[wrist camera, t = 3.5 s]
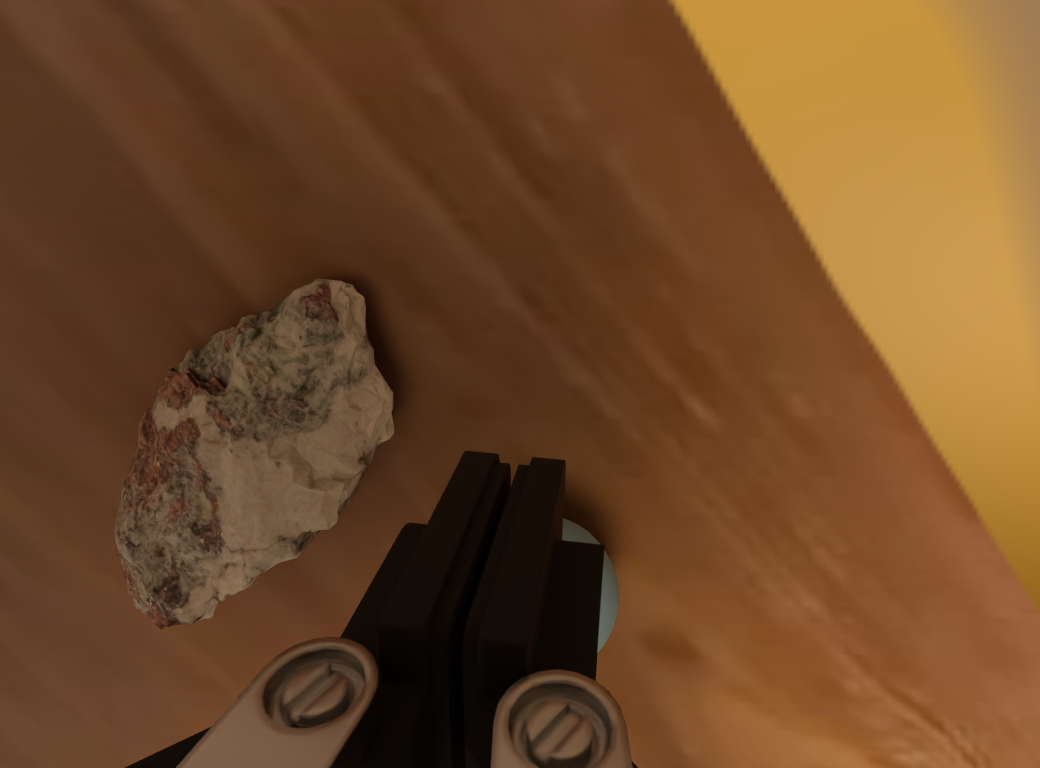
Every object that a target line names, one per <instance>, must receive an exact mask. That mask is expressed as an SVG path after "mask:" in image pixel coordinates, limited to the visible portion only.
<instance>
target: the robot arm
mask: <svg viewBox="0 0 1040 768" xmlns="http://www.w3.org/2000/svg"><path fill="white" fill-rule="evenodd" d="M565 469H566V462H565V460H557V459H547V458H536V457H532V460H531V463H530V466H529V465H519V466H518V468H517V471H516V474H515V477H514V480H513V483H512V486H511V468H510V464H509V463H500V459H499V455H498V454H494V453H484V452H473V451H465V452H464V454H463V455H462V457H461V459H460V461H459V463H458V465H457V467H456V469H455V471H454V473H453V475H452V477H451V479H450V481H449V483H448V485H447V487H446V489H445V491H444V493H443V494H442V496H441V498H440V500H439V502H438V504H437V506H436V508H435V510H434V512H433V514H432V516H431V518H430V520H429V522H428V524H427V525H426V524H418V523H407V524H405V526H404V527H403V528H402V530H401V531H400V533H399V535H398V537H397V538H396V540H395V542H394V544H393V546H392V547H391V549H390V551H389V553H388V554H387V556H386V558H385V560H384V561H383V563H382V565H381V567H380V568H379V570H378V572H377V574H376V575H375V577H374V579H373V581H372V583H371V584H370V586H369V588H368V590H367V591H366V593H365V595H364V597H363V598H362V600H361V602H360V604H359V605H358V607H357V609H356V611H355V612H354V614H353V616H352V618H351V619H350V621H349V623H348V625H347V627H346V628H345V630H344V632H343V634H342V635H341V637H340V638H337V637H326V638H316V639H312V640H309V641H306V642H302V643H299V644H296V645H294V646H292V647H291V648H289V649H287V650H285V651H284V652H282V653H280V654H278V655H277V656H276V657H275V658H274V659H273V660H271V661H270V662H269V663H268V664H267V665H266V666H265V667H264V668H263V669H262V670H261V671H260V672H259V673H258V674H257V676H256V677H255V678H254V679H253V680H252V681H251V682H250V684H249V685H248V686H247V687H246V688H245V689H244V690H243V692H242V693H241V694H240V695H239V696H238V697H237V698H236V700H235V701H234V702H233V703H232V704H231V705H230V706H229V708H228V709H227V710H226V711H225V712H224V713H223V714H222V716H221V717H220V718H219V719H218V720H217V721H216V722H215V724H214V725H213V726H212V727H210V728H208V729H206V730H203V731H201V732H199V733H197V734H195V735H193V736H191V737H189V738H187V739H184V740H182V741H180V742H178V743H176V744H174V745H172V746H170V747H168V748H165V749H163V750H161V751H159V752H157V753H155V754H153V755H151V756H149V757H146V758H144V759H142V760H140V761H138V762H136V763H134V764H132V765H130V766H127V767H125V768H638V767H637V766H636V765H635V764H634V763H633V762H632V759H631V753H630V747H629V740H628V734H627V727H626V723H625V720H624V717H623V714H622V711H621V708H620V706H619V705H618V703H617V702H616V700H615V699H614V698H613V696H612V695H611V694H610V692H609V691H608V690H606V689H605V688H604V687H603V686H601V685H600V684H599V683H597V682H596V666H597V651H598V636H599V622H600V607H601V592H602V577H603V563H604V547H605V545H601V544H593V543H584V542H575V541H566V540H562V532H563V511H564V491H565Z"/></svg>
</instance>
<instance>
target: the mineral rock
mask: <svg viewBox="0 0 1040 768" xmlns="http://www.w3.org/2000/svg"><path fill="white" fill-rule="evenodd" d="M365 315H366V306H365V300H364V297H363V296H362V295H361V294H359V293H358V292H357V291H356V290H355V288H354V287H353V285H352V284H347V283H345V282H342V281H341V280H340V281H336V280H329V279H315V281H313V282H311V283H309V284H307V285H305V286H303V287H298V288H296V289H295V290H294V291H293V292H292V293H291V294H290V295H288V296H287V297H286V298H285V299H284V300H282V302H281V303H280V304H279V305H278V306H277V307H275V308H274V309H273V310H271V311H262V312H259V314H256V315H247V316H245V317H242V318H241V319H240V321H239V323H238V325H237V327H236V328H234V327H231V328H229V329H227V330H223V331H219V332H217V333H216V334H215V335H213V336H212V338H211V340H210V341H209V342H208V343H207V344H206V345H205V346H204V347H203V348H202V349H200V350H199V349H191V348H190V350H189V351H188V352H187V353H186V355H185V357H184V360H183V361H182V362H181V363H179V364H178V365H177V366H175V367H173V368H172V369H170V370H169V371H168V372H167V374H166V375H165V376H164V377H165V381H164V384H163V386H162V387H161V388H160V389H159V390H158V391H157V394H156V398H155V401H154V403H153V404H152V406H151V407H150V408H149V410H148V411H147V412H145V414H144V416H143V417H142V419H141V421H140V423H139V441H138V446H137V449H136V454H135V458H134V460H133V462H132V464H131V466H130V467H129V469H128V475H127V477H126V480H125V483H124V488H123V490H122V492H121V493H120V494H121V500H120V506H119V510H118V514H117V518H116V523H115V537H114V539H115V541H116V543H117V547H118V556H119V557H120V561H121V564H122V567H123V570H124V573H125V578H126V581H127V591H128V593H129V595H130V598H131V600H132V602H133V604H134V605H135V607H136V608H137V609H138V610H139V611H140V612H141V614H144V615H147V617H148V618H149V619H150V621H151V622H153V623H154V624H155V625H157V626H158V627H159V628H160V629H163V628H166V627H170V626H173V625H179V624H192V623H194V622H195V621H197V620H200V619H207V618H210V617H213V614H214V612H215V609H216V607H217V604H218V603H220V602H223V601H224V600H225V599H226V597H227V595H228V594H230V595H231V596H232V595H234V594H236V593H238V592H241V591H243V590H245V589H246V588H248V587H249V586H251V585H252V584H253V583H254V581H255V579H256V577H257V576H258V575H259V574H261V573H263V572H265V571H266V570H268V569H270V568H271V567H273V566H275V565H276V564H278V563H280V562H283V561H287V560H291V559H295V558H297V557H298V556H299V555H300V554H301V553H302V552H303V551H304V549H305V548H306V547H307V546H308V545H309V544H310V542H311V541H312V540H313V538H314V537H315V536H316V534H317V533H318V532H319V531H320V530H329V529H330V528H331V527H332V526H333V525H335V524H336V523H337V522H338V515H339V513H340V512H341V511H342V510H344V509H345V508H346V507H347V506H348V504H349V502H350V501H351V499H352V497H353V495H354V494H355V492H356V489H357V487H358V484H359V481H360V479H361V476H362V474H363V471H364V470H365V469H366V468H367V464H369V463H371V462H372V458H373V456H374V454H375V451H376V449H377V447H378V446H380V445H381V444H383V442H384V441H386V440H389V439H390V438H391V437H392V435H393V434H394V428H395V426H394V423H393V419H392V412H391V411H392V409H393V407H394V396H393V391H391V389H390V388H389V386H388V384H387V383H386V381H385V379H384V378H383V376H382V375H381V373H380V372H379V370H378V369H377V367H376V366H375V364H374V349H373V347H372V345H371V343H370V341H369V339H368V333H367V331H366V323H365Z"/></svg>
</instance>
